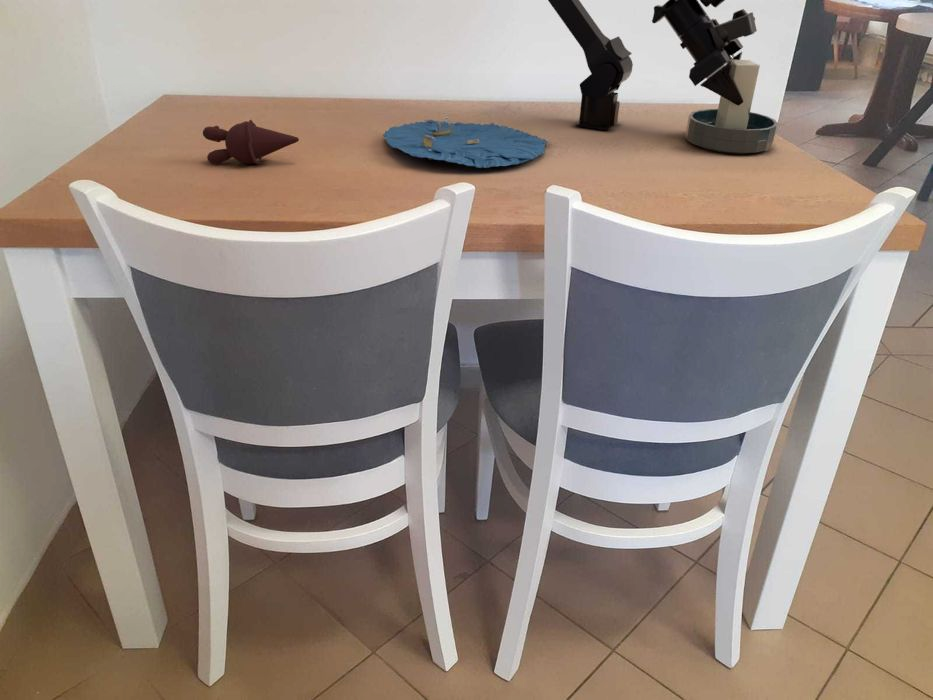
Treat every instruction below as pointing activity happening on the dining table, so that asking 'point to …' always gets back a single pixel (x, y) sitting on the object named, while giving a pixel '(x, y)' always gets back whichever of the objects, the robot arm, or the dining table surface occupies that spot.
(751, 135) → the bowl
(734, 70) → the box
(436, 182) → the dining table surface
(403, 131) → the decorative plate
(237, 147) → the icecream
